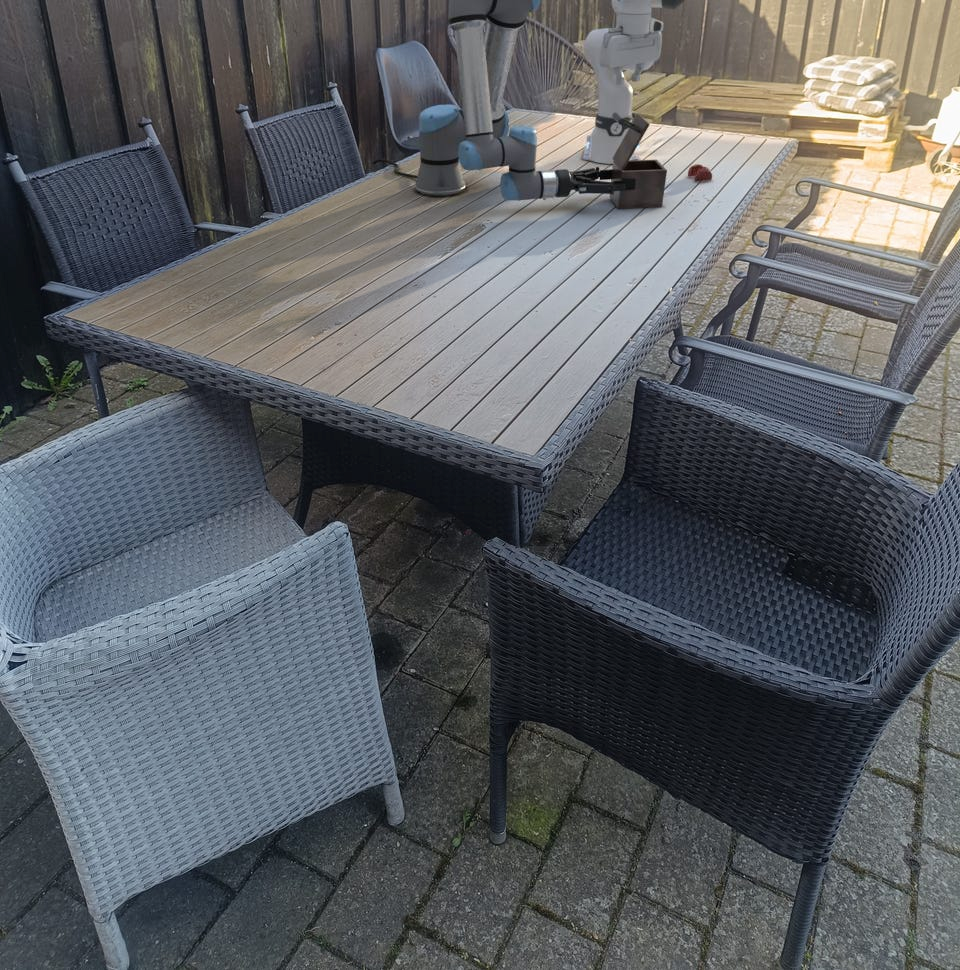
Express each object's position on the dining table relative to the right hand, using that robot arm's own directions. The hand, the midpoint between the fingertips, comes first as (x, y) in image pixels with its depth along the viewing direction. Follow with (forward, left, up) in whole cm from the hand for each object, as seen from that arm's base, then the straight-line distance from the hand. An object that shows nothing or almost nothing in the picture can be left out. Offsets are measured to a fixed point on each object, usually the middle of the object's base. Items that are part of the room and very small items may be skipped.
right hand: (627, 82), depth 228 cm
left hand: (0, +3, -26) cm, 26 cm away
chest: (-1, +6, -32) cm, 33 cm away
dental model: (-24, +30, -33) cm, 51 cm away
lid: (0, +3, -16) cm, 16 cm away
